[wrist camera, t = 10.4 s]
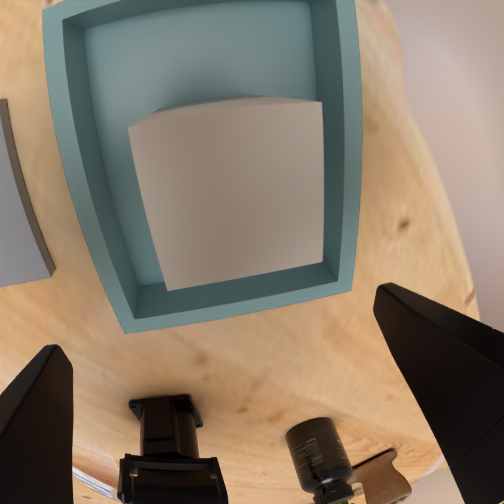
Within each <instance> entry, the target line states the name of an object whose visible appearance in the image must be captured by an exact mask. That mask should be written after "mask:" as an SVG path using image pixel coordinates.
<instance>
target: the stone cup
mask: <svg viewBox="0 0 504 504" xmlns="http://www.w3.org/2000/svg"><path fill="white" fill-rule="evenodd" d="M396 456H397V452H396V451H390V452H387V453H385V454H383V455H381V456H379V457H377V458H375V459H373V460H371V461H369V462H367V463H365V464H363V465H361V466H359V467H357V468H354V469H353V474H352V476H351V478H350V479H349V480H348V484H353V483H356V482H360V483H362V485H363V489H364V493H365V499H366V503H367V504H398V503H399V502H402V501H404V500H406V498H408V497H409V496H410V494H411V491H412V489H411V486H410V485H409V483H408V481H407V480H406V478H405V477H404V476H403V475H402V474H400V473H399V472H398V471H397V470H396V469H395V468H394V466H393V464H392V461H393V460H394V459H395V458H396Z"/></svg>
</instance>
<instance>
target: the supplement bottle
mask: <svg viewBox="0 0 504 504" xmlns="http://www.w3.org/2000/svg"><path fill="white" fill-rule="evenodd" d="M286 441H287V444H288V448H289V451H290V454H291V457H292V460H293V463H294V467H295V470H296V473H297V476H298V479H299V482H300V485H301V488H302V489H303V490H304V491H305V492H308V493H312V494H314V497H313V501H315V504H340V503H342V502H344V501H347V500H349V499H351V498H352V497H354V492H353V490H352V486H351V484H348V480H349V479H350V478H351V476H352V474H353V469H352V466H351V463H350V461H349V459H348V456H347V454H346V452H345V449H344V447H343V444H342V442H341V440H340V437H339V435H338V433H337V430H336V428H335V426H334V424H333V422H332V421H331V420H329V419H326V418H319V419H313V420H309V421H306V422H304V423H301V424H299V425H297V426H296V427H294V428H293V429H291V430H290V431H289V432H288V434H287V436H286Z"/></svg>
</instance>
